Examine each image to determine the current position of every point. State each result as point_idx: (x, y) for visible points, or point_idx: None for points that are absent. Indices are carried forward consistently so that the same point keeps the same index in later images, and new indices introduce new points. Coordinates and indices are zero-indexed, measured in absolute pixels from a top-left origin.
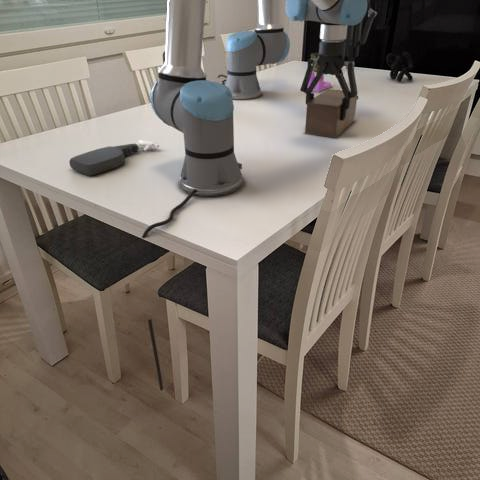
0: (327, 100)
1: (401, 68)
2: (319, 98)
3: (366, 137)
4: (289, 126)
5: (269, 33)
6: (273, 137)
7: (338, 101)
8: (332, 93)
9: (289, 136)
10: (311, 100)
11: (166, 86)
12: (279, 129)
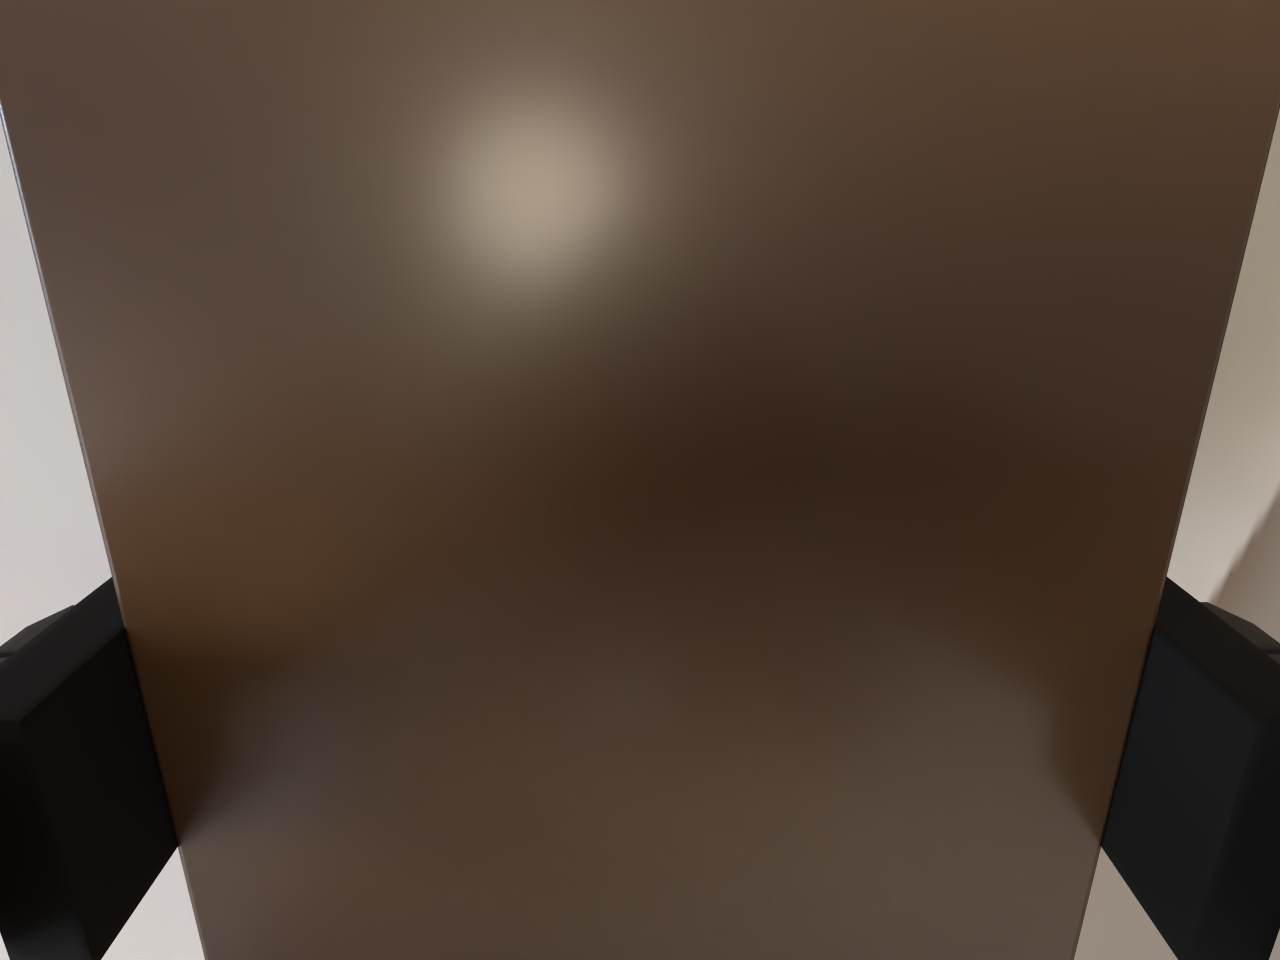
0: (625, 722)
1: None
2: (305, 612)
3: (1272, 431)
4: (56, 447)
5: None
6: (163, 890)
7: (966, 687)
8: None
9: None
10: (217, 874)
11: None
12: (27, 624)
